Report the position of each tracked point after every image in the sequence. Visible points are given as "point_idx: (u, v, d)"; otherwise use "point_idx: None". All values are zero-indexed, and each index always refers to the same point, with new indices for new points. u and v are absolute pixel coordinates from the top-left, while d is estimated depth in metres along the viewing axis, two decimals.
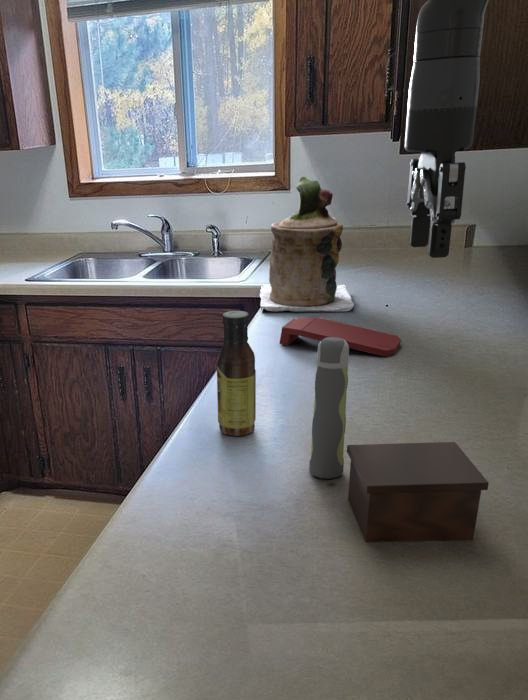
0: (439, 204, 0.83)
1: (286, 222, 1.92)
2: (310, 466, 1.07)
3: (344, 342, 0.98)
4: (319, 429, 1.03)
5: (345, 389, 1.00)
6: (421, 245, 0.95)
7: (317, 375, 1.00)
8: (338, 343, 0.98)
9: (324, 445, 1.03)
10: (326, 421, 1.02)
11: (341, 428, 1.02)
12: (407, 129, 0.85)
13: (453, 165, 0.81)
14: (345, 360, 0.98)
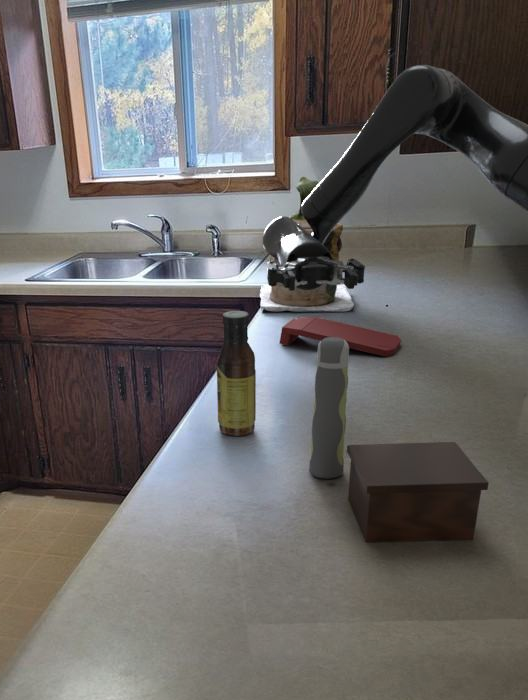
0: None
1: None
2: (310, 466, 1.07)
3: (344, 342, 0.98)
4: (319, 429, 1.03)
5: (345, 389, 1.00)
6: (349, 279, 1.06)
7: (317, 375, 1.00)
8: (338, 343, 0.98)
9: (324, 445, 1.03)
10: (326, 421, 1.02)
11: (341, 428, 1.02)
12: None
13: None
14: (345, 360, 0.98)
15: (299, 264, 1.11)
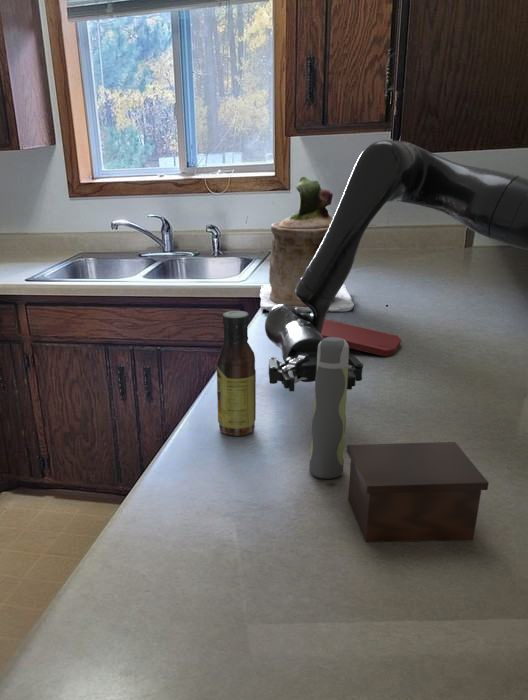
0: None
1: (286, 222, 1.92)
2: (310, 466, 1.07)
3: (344, 342, 0.98)
4: (319, 429, 1.03)
5: (345, 389, 1.00)
6: None
7: (317, 375, 1.00)
8: (338, 343, 0.98)
9: (324, 445, 1.03)
10: (326, 421, 1.02)
11: (341, 428, 1.02)
12: None
13: None
14: (345, 360, 0.98)
15: (299, 362, 1.15)
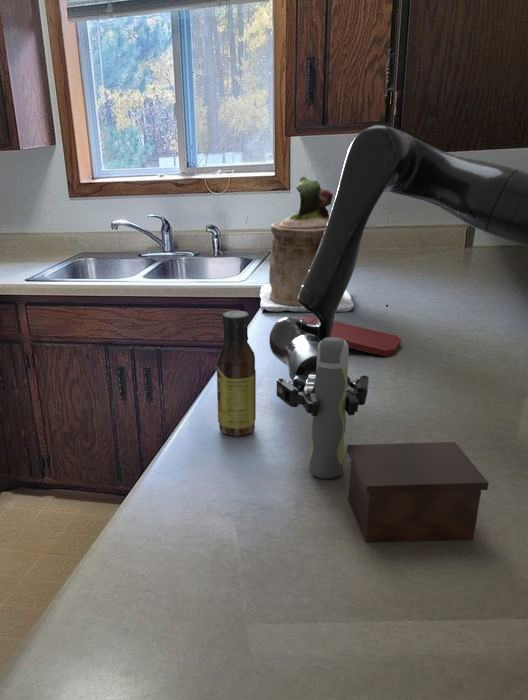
0: None
1: (286, 222, 1.92)
2: (310, 466, 1.07)
3: (344, 342, 0.98)
4: (319, 429, 1.03)
5: (345, 389, 1.00)
6: (349, 406, 1.00)
7: (317, 375, 1.00)
8: (338, 343, 0.98)
9: (324, 445, 1.03)
10: (326, 421, 1.02)
11: (341, 428, 1.02)
12: None
13: (277, 387, 1.09)
14: (345, 360, 0.98)
15: None
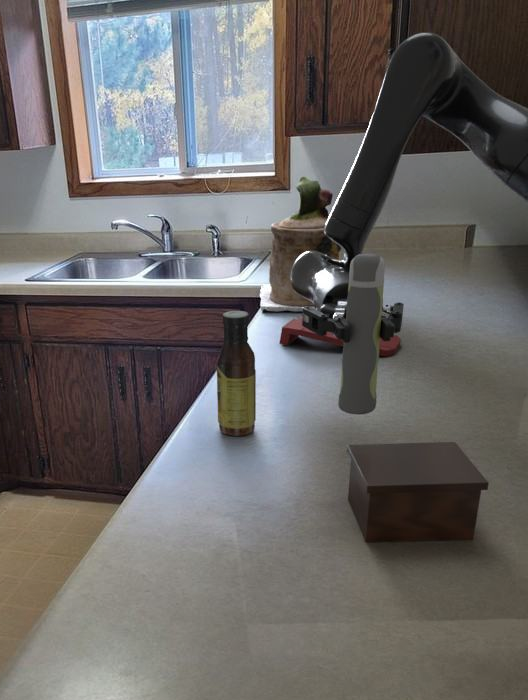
0: None
1: (286, 222, 1.92)
2: (339, 401, 0.97)
3: (380, 258, 0.89)
4: (351, 358, 0.93)
5: (380, 312, 0.91)
6: (385, 331, 0.91)
7: (349, 296, 0.91)
8: (373, 259, 0.88)
9: (356, 376, 0.94)
10: (359, 348, 0.92)
11: (374, 356, 0.93)
12: None
13: (303, 316, 1.00)
14: (381, 278, 0.89)
15: (345, 309, 0.97)
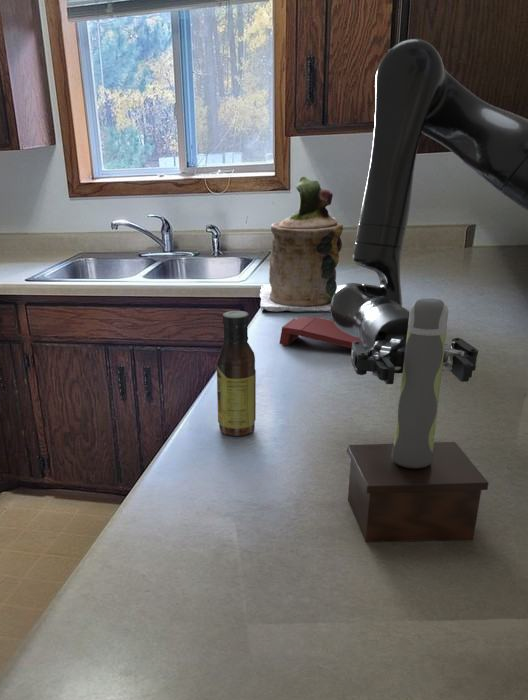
0: None
1: (286, 222, 1.92)
2: (394, 454, 0.90)
3: (443, 304, 0.82)
4: (409, 409, 0.86)
5: (442, 361, 0.84)
6: (463, 371, 0.84)
7: (409, 344, 0.84)
8: (437, 305, 0.81)
9: (414, 428, 0.87)
10: (418, 399, 0.85)
11: (434, 407, 0.86)
12: None
13: None
14: (444, 325, 0.82)
15: (394, 347, 0.90)
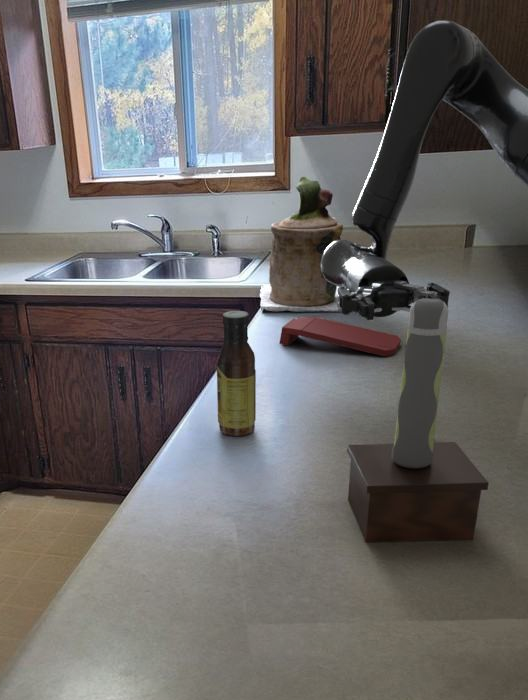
0: None
1: (286, 222, 1.92)
2: (394, 454, 0.90)
3: (443, 304, 0.82)
4: (409, 409, 0.86)
5: (442, 361, 0.84)
6: None
7: (409, 344, 0.84)
8: (437, 305, 0.81)
9: (414, 428, 0.87)
10: (418, 399, 0.85)
11: (434, 407, 0.86)
12: None
13: None
14: (444, 325, 0.82)
15: (375, 290, 1.00)
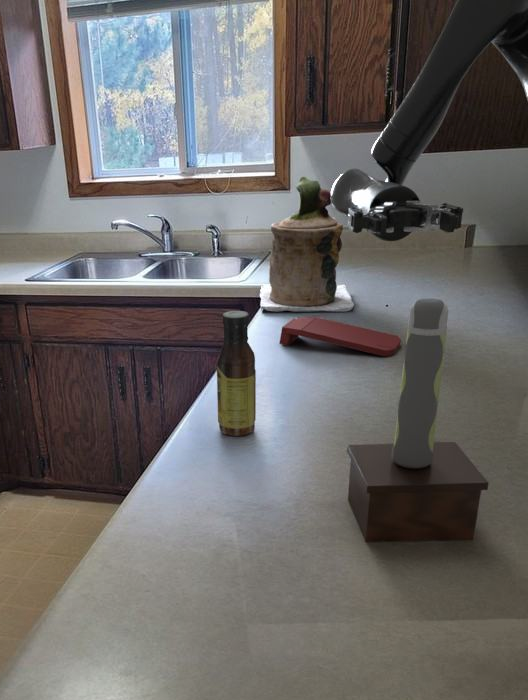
0: None
1: (286, 222, 1.92)
2: (394, 454, 0.90)
3: (443, 304, 0.82)
4: (409, 409, 0.86)
5: (442, 361, 0.84)
6: (449, 221, 0.93)
7: (409, 344, 0.84)
8: (437, 305, 0.81)
9: (414, 428, 0.87)
10: (418, 399, 0.85)
11: (434, 407, 0.86)
12: None
13: None
14: (444, 325, 0.82)
15: (387, 208, 0.98)
